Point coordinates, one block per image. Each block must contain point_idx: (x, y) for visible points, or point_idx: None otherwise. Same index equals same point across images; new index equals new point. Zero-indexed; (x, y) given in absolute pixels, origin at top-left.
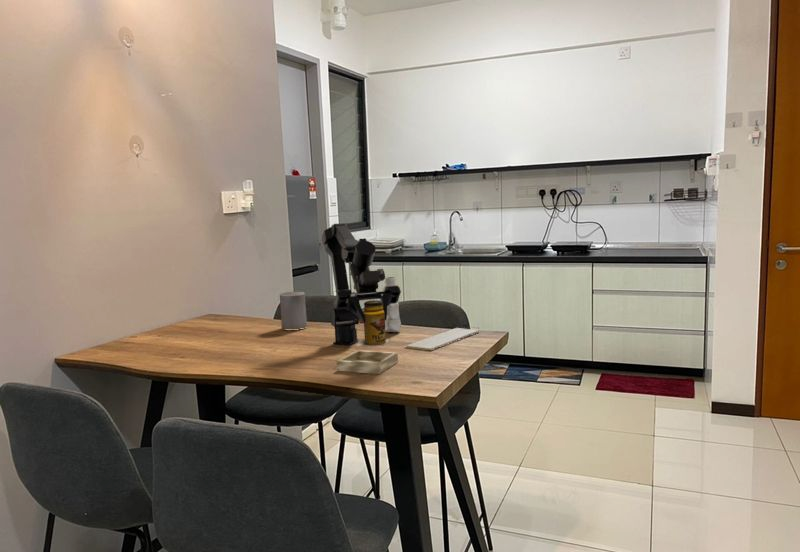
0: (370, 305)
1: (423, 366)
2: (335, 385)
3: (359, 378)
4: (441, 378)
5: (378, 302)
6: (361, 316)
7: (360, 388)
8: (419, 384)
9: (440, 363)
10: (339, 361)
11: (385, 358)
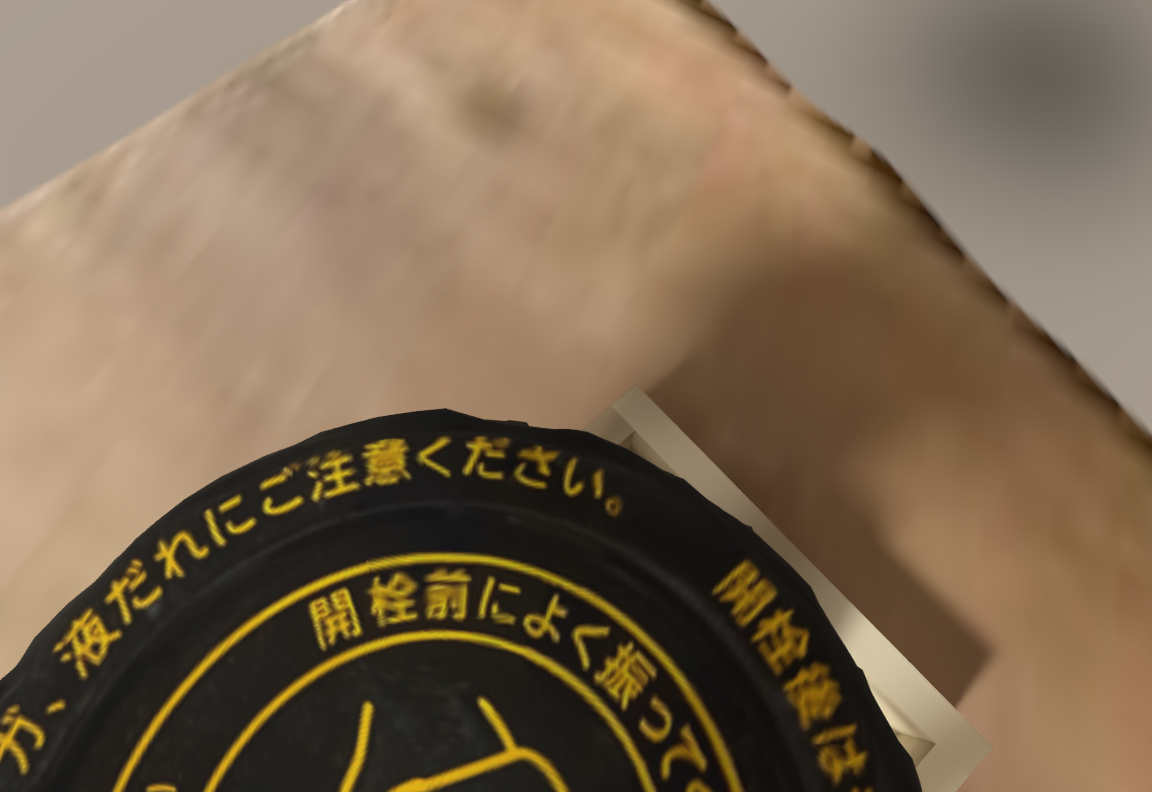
0: (724, 519)
1: (216, 423)
2: (1017, 321)
3: (809, 389)
4: (313, 103)
5: (294, 523)
6: None
7: (866, 178)
8: (500, 71)
9: (45, 428)
10: (962, 716)
11: None
